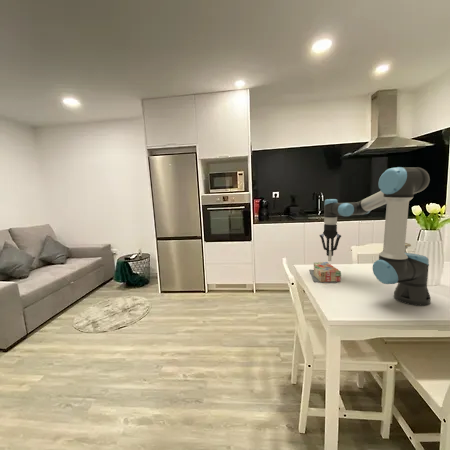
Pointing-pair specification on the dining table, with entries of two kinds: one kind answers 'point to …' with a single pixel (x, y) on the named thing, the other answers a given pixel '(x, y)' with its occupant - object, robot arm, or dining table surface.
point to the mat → (317, 279)
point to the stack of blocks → (326, 272)
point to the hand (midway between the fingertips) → (329, 260)
